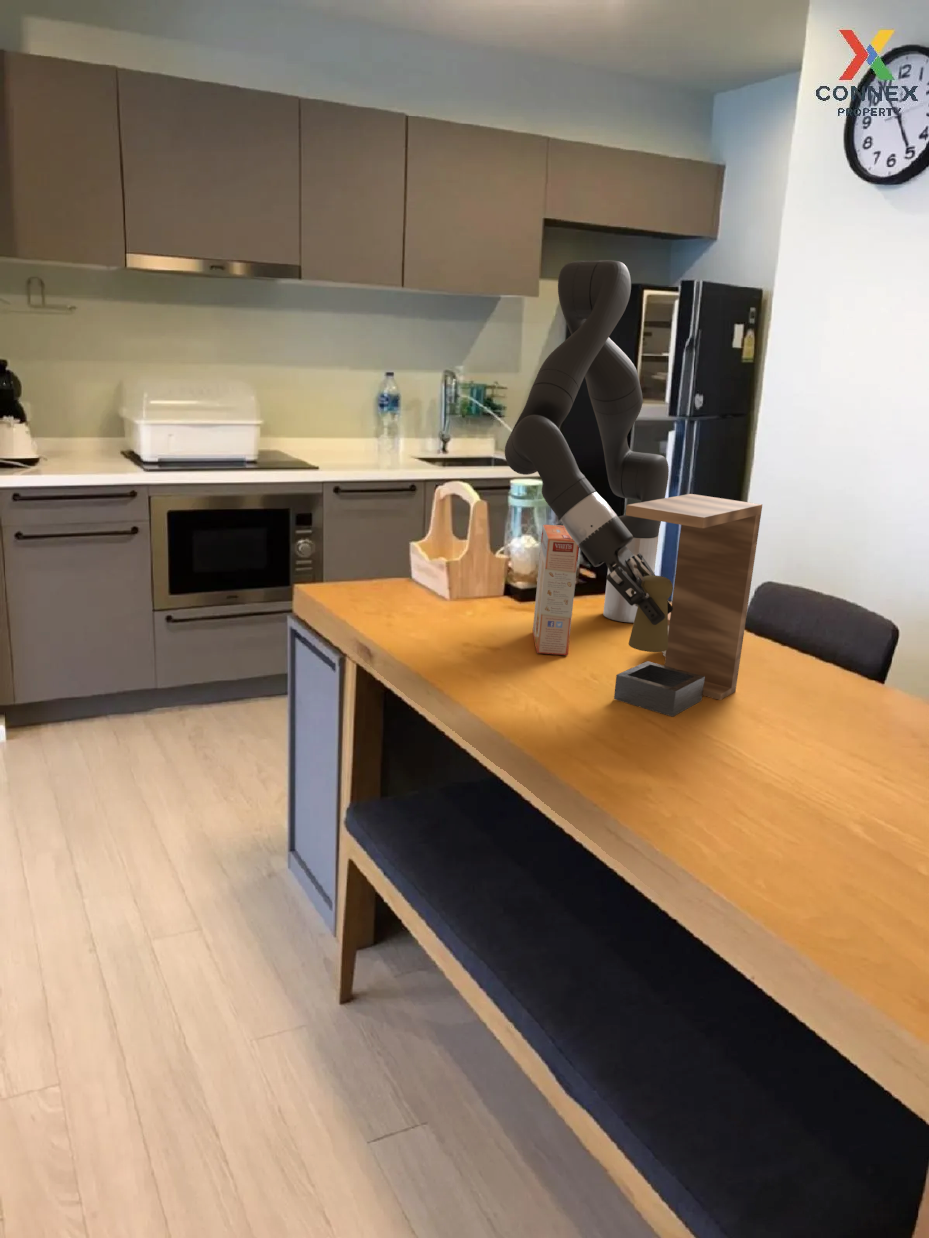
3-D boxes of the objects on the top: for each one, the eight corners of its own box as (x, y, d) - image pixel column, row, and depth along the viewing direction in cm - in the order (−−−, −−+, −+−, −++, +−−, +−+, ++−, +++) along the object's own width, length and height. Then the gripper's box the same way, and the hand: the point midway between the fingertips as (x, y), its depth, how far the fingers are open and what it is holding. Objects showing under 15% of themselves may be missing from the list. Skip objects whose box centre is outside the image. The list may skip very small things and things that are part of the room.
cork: (667, 654, 146) (676, 583, 143) (627, 649, 148) (635, 578, 145) (668, 642, 152) (676, 574, 149) (629, 638, 153) (637, 570, 150)
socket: (644, 684, 158) (647, 661, 157) (701, 700, 152) (704, 676, 151) (613, 699, 150) (616, 674, 149) (672, 716, 144) (675, 691, 143)
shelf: (668, 673, 164) (690, 493, 156) (735, 691, 158) (762, 504, 149) (605, 703, 148) (626, 504, 140) (677, 724, 141) (703, 517, 133)
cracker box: (570, 656, 170) (581, 539, 164) (535, 654, 170) (545, 537, 164) (563, 634, 184) (573, 525, 178) (531, 632, 184) (541, 522, 178)
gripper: (601, 520, 141) (674, 614, 140) (626, 508, 154) (693, 594, 152) (563, 551, 144) (633, 642, 143) (591, 537, 157) (655, 620, 156)
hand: (664, 617), depth 148 cm, fingers closed on cork, 5 cm apart
